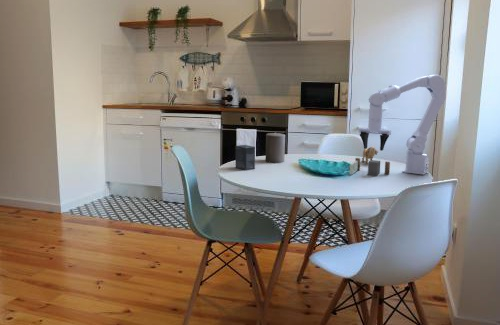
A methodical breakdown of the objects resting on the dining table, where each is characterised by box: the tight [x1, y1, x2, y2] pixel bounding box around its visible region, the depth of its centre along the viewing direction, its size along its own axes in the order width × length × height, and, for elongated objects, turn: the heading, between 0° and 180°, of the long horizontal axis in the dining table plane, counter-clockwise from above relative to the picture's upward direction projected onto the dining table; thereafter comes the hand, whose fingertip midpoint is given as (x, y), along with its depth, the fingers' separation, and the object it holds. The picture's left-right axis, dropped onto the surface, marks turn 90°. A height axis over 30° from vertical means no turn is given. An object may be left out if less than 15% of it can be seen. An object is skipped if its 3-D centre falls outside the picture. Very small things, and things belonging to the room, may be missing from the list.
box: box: [235, 144, 256, 171], centre depth 218 cm, size 8×6×11 cm
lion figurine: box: [361, 146, 379, 165], centre depth 235 cm, size 15×5×9 cm, turn 9°
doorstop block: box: [367, 159, 381, 177], centre depth 207 cm, size 4×5×6 cm
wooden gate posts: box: [354, 157, 391, 175], centre depth 212 cm, size 16×2×6 cm, turn 54°
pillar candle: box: [265, 131, 286, 164], centre depth 236 cm, size 10×10×15 cm
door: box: [347, 160, 358, 175], centre depth 211 cm, size 10×2×4 cm, turn 154°
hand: (373, 149), depth 214 cm, fingers open, 7 cm apart
